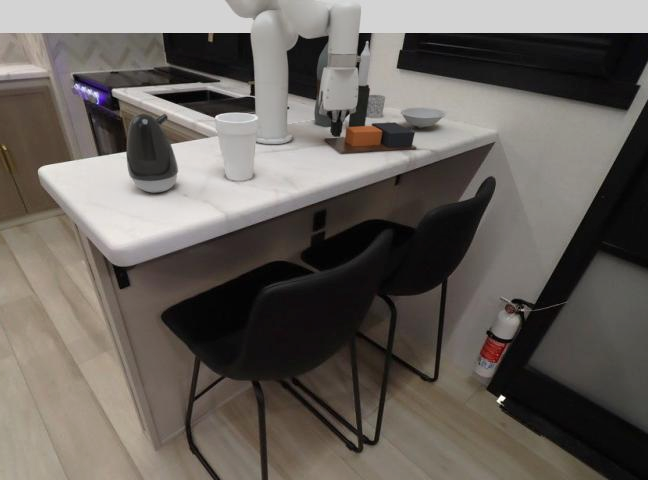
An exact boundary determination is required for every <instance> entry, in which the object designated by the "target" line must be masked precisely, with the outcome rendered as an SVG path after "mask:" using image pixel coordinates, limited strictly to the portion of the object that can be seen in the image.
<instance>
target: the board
mask: <svg viewBox="0 0 648 480" xmlns="http://www.w3.org/2000/svg"><path fill="white" fill-rule="evenodd" d="M324 141H325V142H326V143H327V144H329V145H330V146H331V147H332V148H333V149H334V150H336V151H338V153H339V154H342V155H343V154H345V155H346V154H362V153H376V152H377V153H378V152H392V151H393V152H394V151H410V150H411V151H412V150H417V146H415V145H413V144H412V146H410V147H393V148H387V147H386V146H384V145H383V144H381V143H380V145H373V146H354V147H352V146H351V145H350V144H348V143H347V142H345V136H342V137H341V136H340V137H325V138H324Z"/></svg>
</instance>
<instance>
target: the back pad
mask: <svg viewBox="0 0 648 480" xmlns="http://www.w3.org/2000/svg"><path fill="white" fill-rule="evenodd" d="M371 126H375V127H376V128H378V129H380V130H382V137H381V142H380V143H381V144H383V145H384V146H386V147H387V148H393V147H410V146H412V145H413V142H414V138H415V134H416V132H415V131H413V130H411V129H409V128H407V127H406V126H403V125H401V124H400V123H397V122H372V123H371Z"/></svg>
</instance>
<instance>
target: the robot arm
mask: <svg viewBox="0 0 648 480" xmlns="http://www.w3.org/2000/svg"><path fill="white" fill-rule="evenodd" d="M224 1H225V2H226V4H227V5H228V6H229V7H230V9H231V10H232V11H233V13H234V14H235V15H237V16H238V17H240V18H243V19H251V20H253V21H252V25H251V28H250V44H251V50H252V57H253V71H254V72H253V73H254V104H255V105H254V106H255V107H254V110H255V116H257V117H258V131H257V136H256V143H259V144H265V145H266V144H267V145H279V144H280V145H281V144H287V143H289V142H291V141H292V139H293V135H292V133H290V132H288V109H289V107H288V102H289V62H288V54H287V53H288V51H290V50H291V49H293V47H295V45H296V43H297V42H298V39H299V36H300V37H302V38H303V39H304V38H305V39H308V40H309V39H316V38H322V37H328V41H329V42H328V41H327V43H328V59H327V67H325V68H324V69H323V74H322V79H321V85H320V93H319V106H320V110H319V113H320V114H322V115H326V116H328V117H329V119H330V120H331V127H330V130H329V131H330V134H331V136H332V137H333V138H339V137H341V134H342V133H343V125H344V124H343V123H344V122H345V120H346V118H348V116H350V114H352V113H355V112H356V106H357V101H358V74H359V68H358V67H356V66H357V64H358V63H360V62H361V55H358V48H359V47H358V46H359V36H360V26H361V18H362V17H361V16H362V7H361V4H360V3H359V2H355V1H337V2H328V1H327V2H326V1H321V0H224ZM327 110H329V111H327ZM336 110H339V112H338V117H337V111H336Z"/></svg>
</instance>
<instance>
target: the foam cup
mask: <svg viewBox="0 0 648 480" xmlns="http://www.w3.org/2000/svg"><path fill="white" fill-rule="evenodd" d="M214 124H215V125H214V127H215V131H216V134H217V138H218V143H219V148H220V152H221V153H220V154H221V157H222V162H223V168H224V172H225V173H224V174H225V175H226V178H227V179H228V180H230V181H235V182H236V181H237V182H242V181H243V182H245V181H248V180H251V179H253V176H254V167H255V157H256V155H255V154H256V144H257V142H256V136H257V131H258V117H257V116H256V114H253V113H247V112H225V113H220V114H217V115H215V117H214Z"/></svg>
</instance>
